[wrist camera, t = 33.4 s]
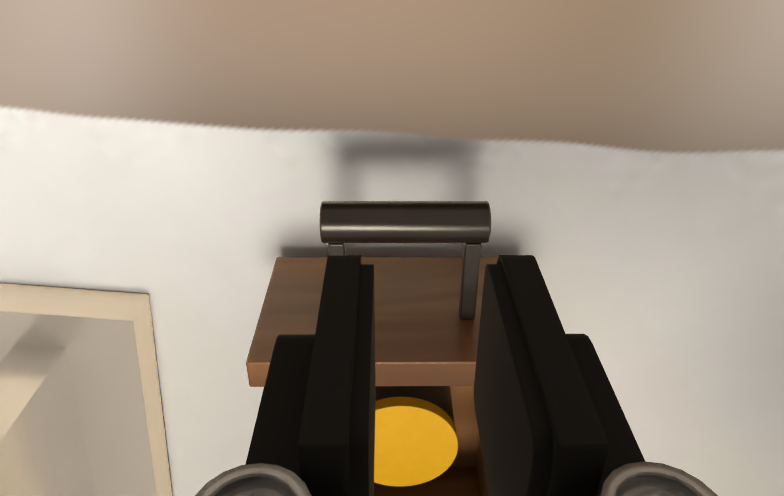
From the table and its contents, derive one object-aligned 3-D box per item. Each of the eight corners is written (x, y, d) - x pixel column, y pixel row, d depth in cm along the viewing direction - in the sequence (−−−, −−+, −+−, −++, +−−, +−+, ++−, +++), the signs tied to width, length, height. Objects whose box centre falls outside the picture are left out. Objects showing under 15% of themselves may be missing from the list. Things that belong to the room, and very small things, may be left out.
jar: (452, 345, 30) (461, 405, 26) (448, 422, 32) (455, 486, 29) (346, 345, 30) (340, 406, 26) (349, 422, 32) (345, 487, 29)
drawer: (265, 155, 26) (227, 241, 20) (538, 155, 26) (586, 241, 20) (297, 460, 35) (278, 585, 29) (498, 459, 35) (522, 584, 29)
